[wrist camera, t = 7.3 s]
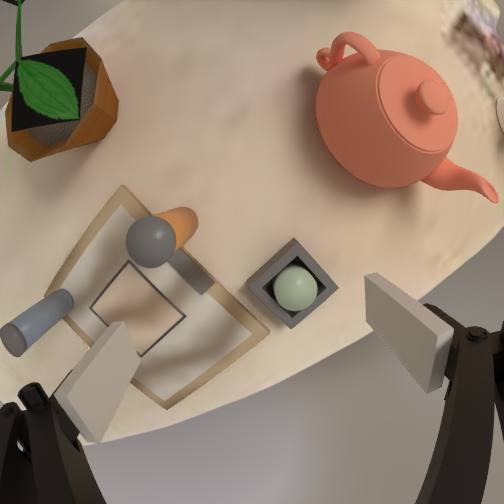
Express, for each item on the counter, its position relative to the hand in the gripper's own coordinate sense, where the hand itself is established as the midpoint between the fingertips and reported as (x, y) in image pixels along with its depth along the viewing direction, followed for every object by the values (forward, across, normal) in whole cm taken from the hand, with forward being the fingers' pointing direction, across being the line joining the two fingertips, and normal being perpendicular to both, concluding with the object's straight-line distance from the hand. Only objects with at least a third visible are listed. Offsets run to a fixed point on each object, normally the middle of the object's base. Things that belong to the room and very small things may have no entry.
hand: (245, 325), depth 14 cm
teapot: (+18, +18, +11) cm, 28 cm away
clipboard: (+17, -14, -5) cm, 23 cm away
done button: (+17, +5, -4) cm, 18 cm away
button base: (+17, +5, -4) cm, 18 cm away
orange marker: (+17, -6, +4) cm, 19 cm away
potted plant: (+18, -14, +20) cm, 30 cm away
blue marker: (+16, -24, -2) cm, 29 cm away
